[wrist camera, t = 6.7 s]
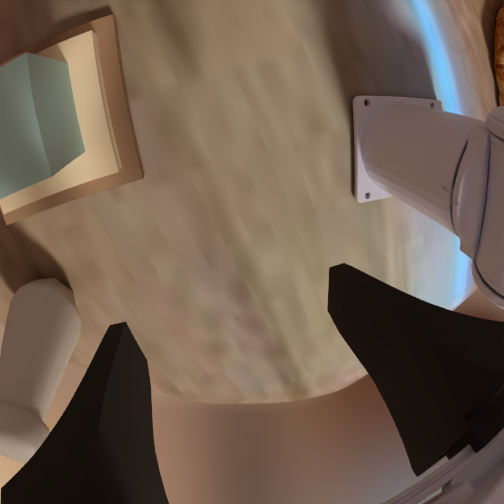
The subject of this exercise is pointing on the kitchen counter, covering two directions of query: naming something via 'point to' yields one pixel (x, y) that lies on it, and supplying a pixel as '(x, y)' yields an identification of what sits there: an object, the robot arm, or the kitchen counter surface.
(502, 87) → the croissant
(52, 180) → the wooden base
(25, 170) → the teal block
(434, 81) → the kitchen counter surface
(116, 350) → the robot arm
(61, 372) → the salt shaker
